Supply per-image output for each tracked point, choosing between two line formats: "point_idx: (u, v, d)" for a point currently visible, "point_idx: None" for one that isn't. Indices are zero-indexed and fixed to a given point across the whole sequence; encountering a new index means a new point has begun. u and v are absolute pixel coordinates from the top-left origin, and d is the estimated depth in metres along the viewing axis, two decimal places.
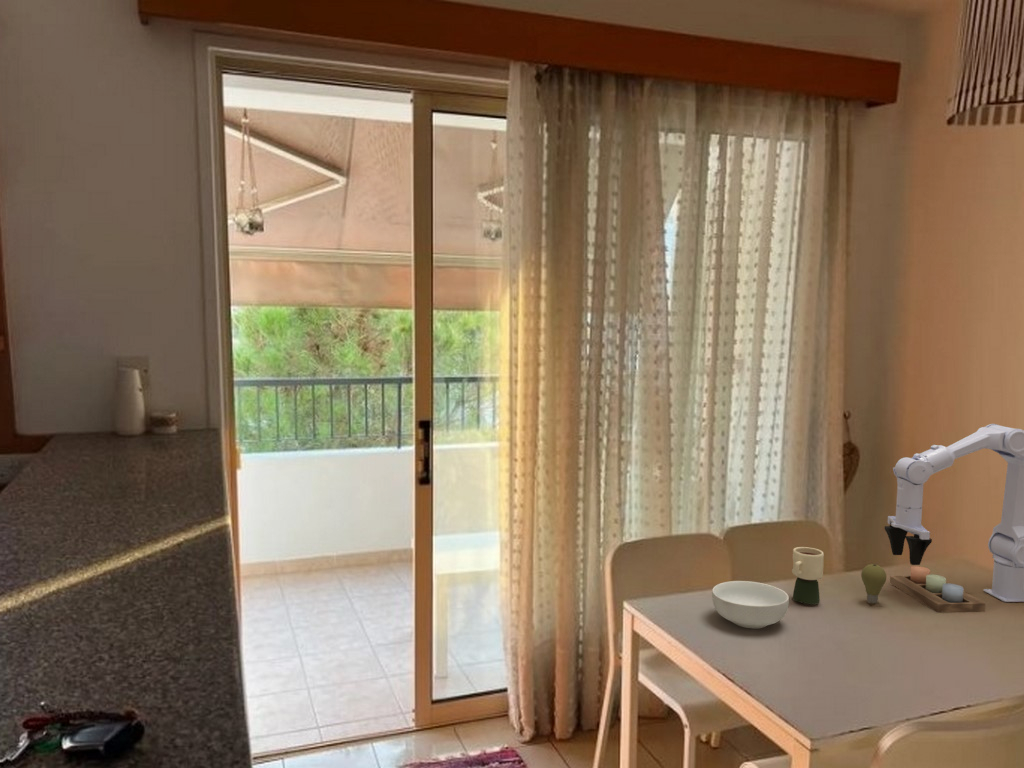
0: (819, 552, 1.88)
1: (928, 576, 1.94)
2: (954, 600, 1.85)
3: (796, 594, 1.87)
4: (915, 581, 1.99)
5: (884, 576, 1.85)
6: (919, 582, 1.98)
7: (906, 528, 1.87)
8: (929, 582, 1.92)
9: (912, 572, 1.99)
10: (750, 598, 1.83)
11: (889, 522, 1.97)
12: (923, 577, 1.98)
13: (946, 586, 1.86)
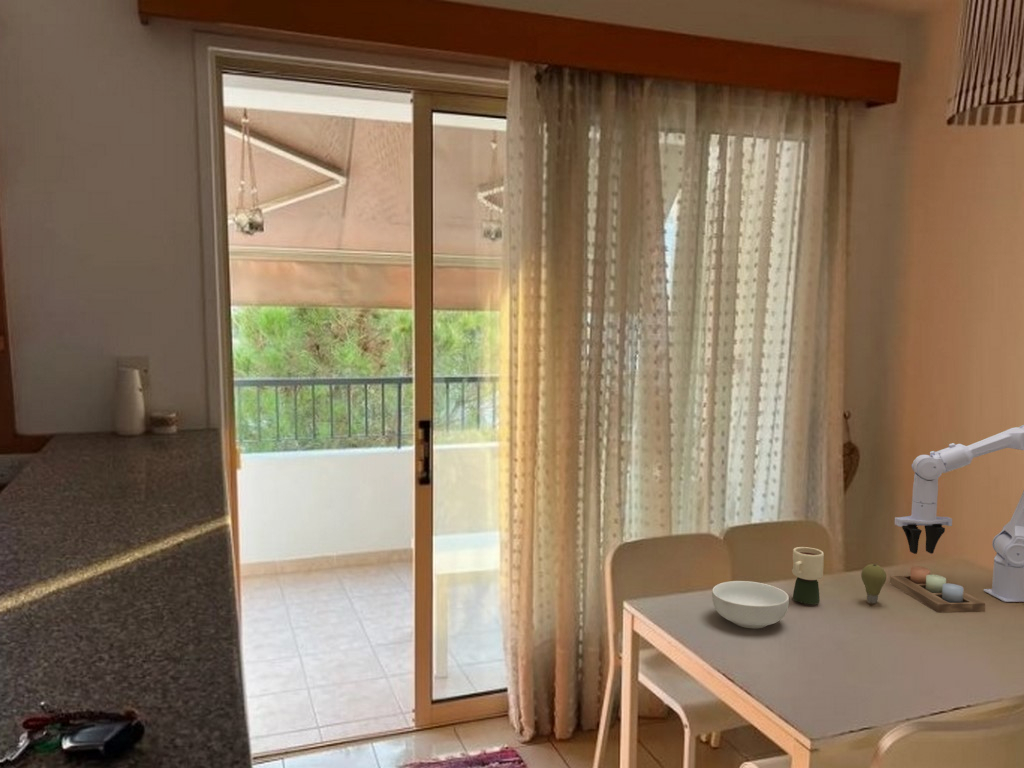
0: (819, 552, 1.88)
1: (928, 576, 1.94)
2: (954, 600, 1.85)
3: (796, 594, 1.87)
4: (915, 581, 1.99)
5: (884, 576, 1.85)
6: (919, 582, 1.98)
7: None
8: (929, 582, 1.92)
9: (912, 572, 1.99)
10: (750, 598, 1.83)
11: None
12: (923, 577, 1.98)
13: (946, 586, 1.86)
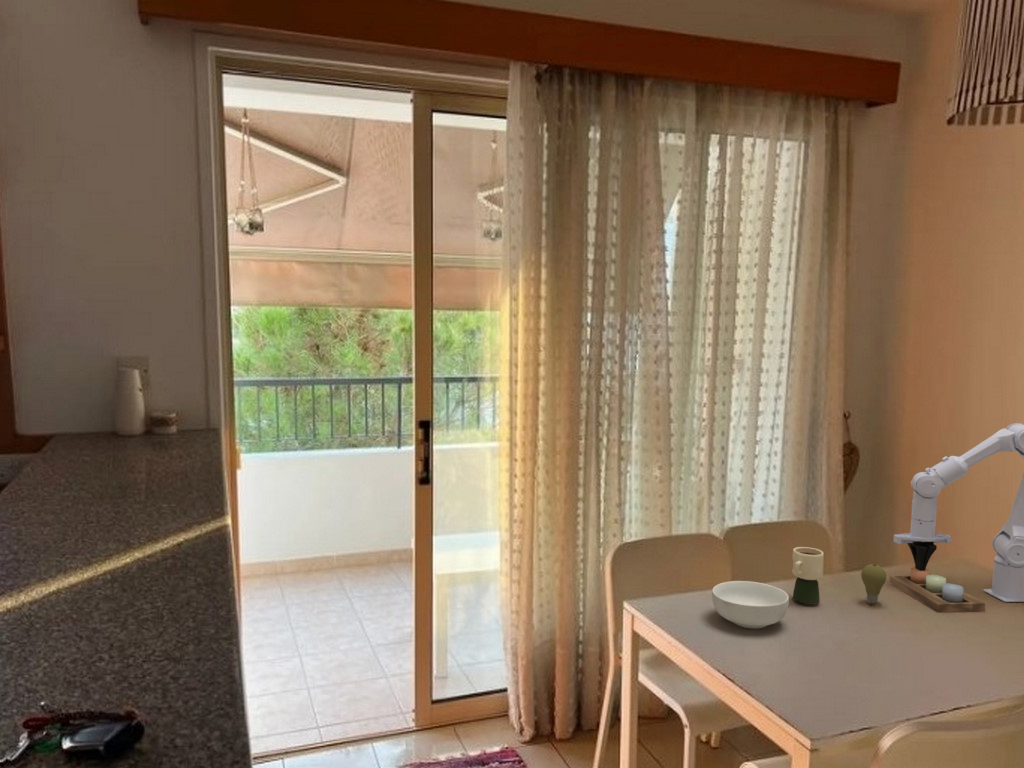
0: (819, 552, 1.88)
1: (928, 576, 1.94)
2: (954, 600, 1.85)
3: (796, 594, 1.87)
4: (915, 582, 1.99)
5: (884, 576, 1.85)
6: (919, 583, 1.98)
7: None
8: (929, 582, 1.92)
9: (912, 573, 1.99)
10: (750, 598, 1.83)
11: None
12: (923, 577, 1.98)
13: (946, 586, 1.86)
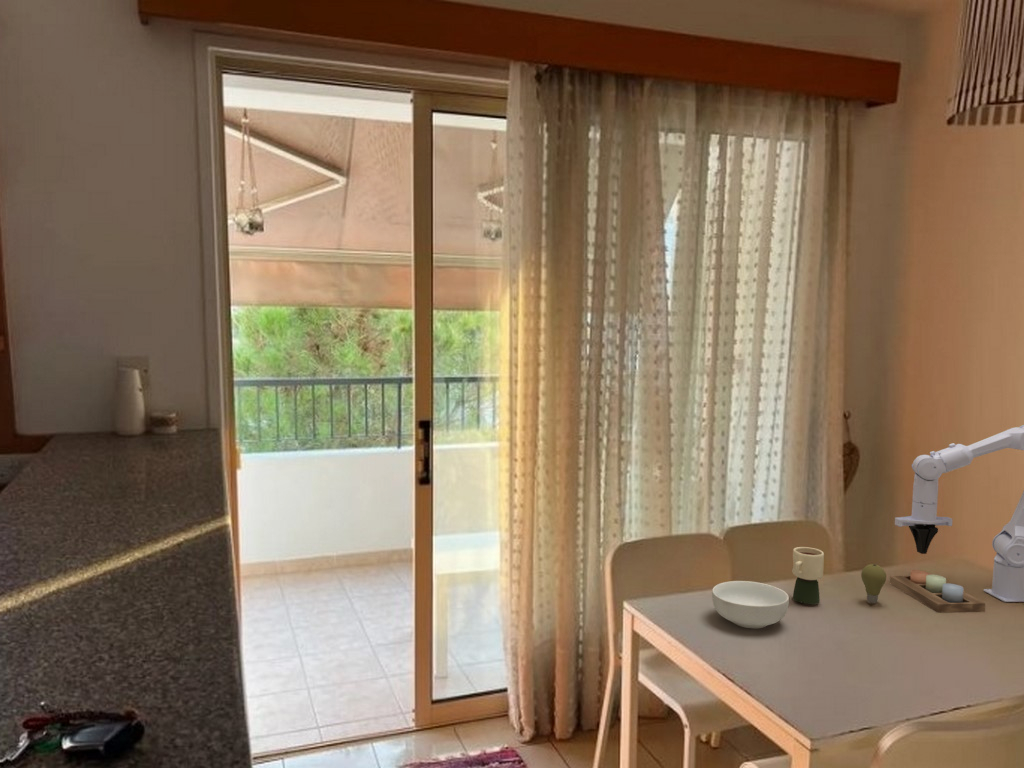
0: (819, 552, 1.88)
1: (928, 576, 1.94)
2: (954, 600, 1.85)
3: (796, 594, 1.87)
4: None
5: (884, 576, 1.85)
6: None
7: None
8: (929, 582, 1.92)
9: (912, 576, 1.99)
10: (750, 598, 1.83)
11: None
12: (923, 580, 1.98)
13: (946, 586, 1.86)
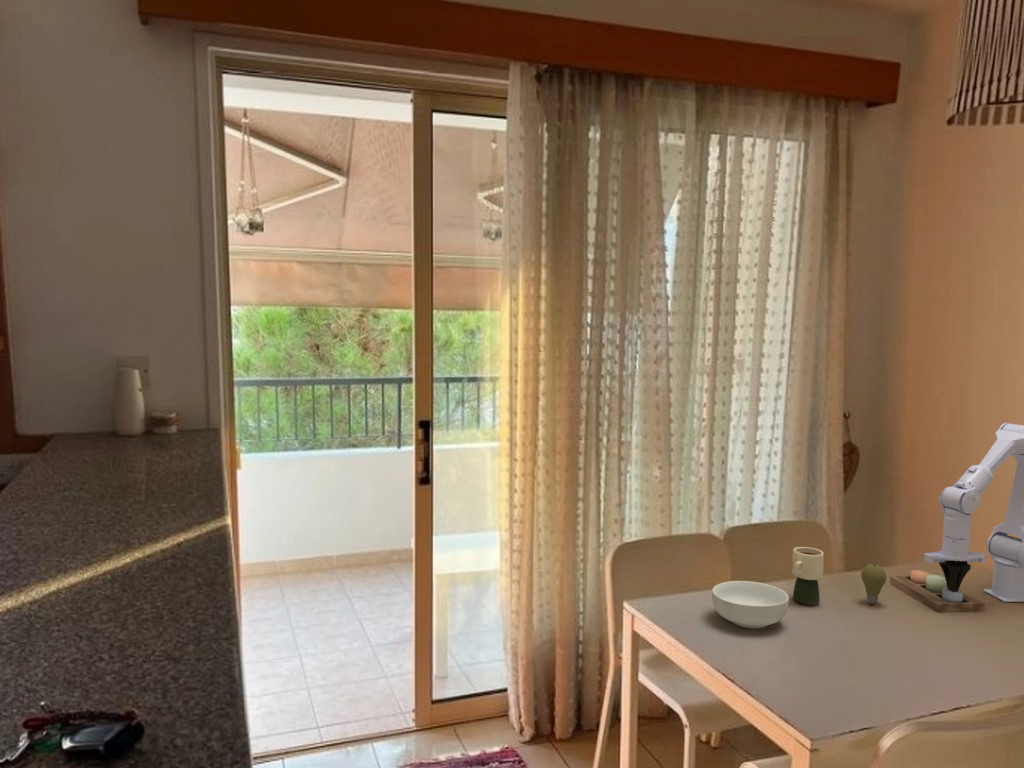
0: (819, 552, 1.88)
1: (928, 576, 1.94)
2: None
3: (796, 594, 1.87)
4: None
5: (884, 576, 1.85)
6: None
7: None
8: (929, 582, 1.92)
9: (912, 576, 1.99)
10: (750, 598, 1.83)
11: None
12: (923, 580, 1.98)
13: (946, 590, 1.87)
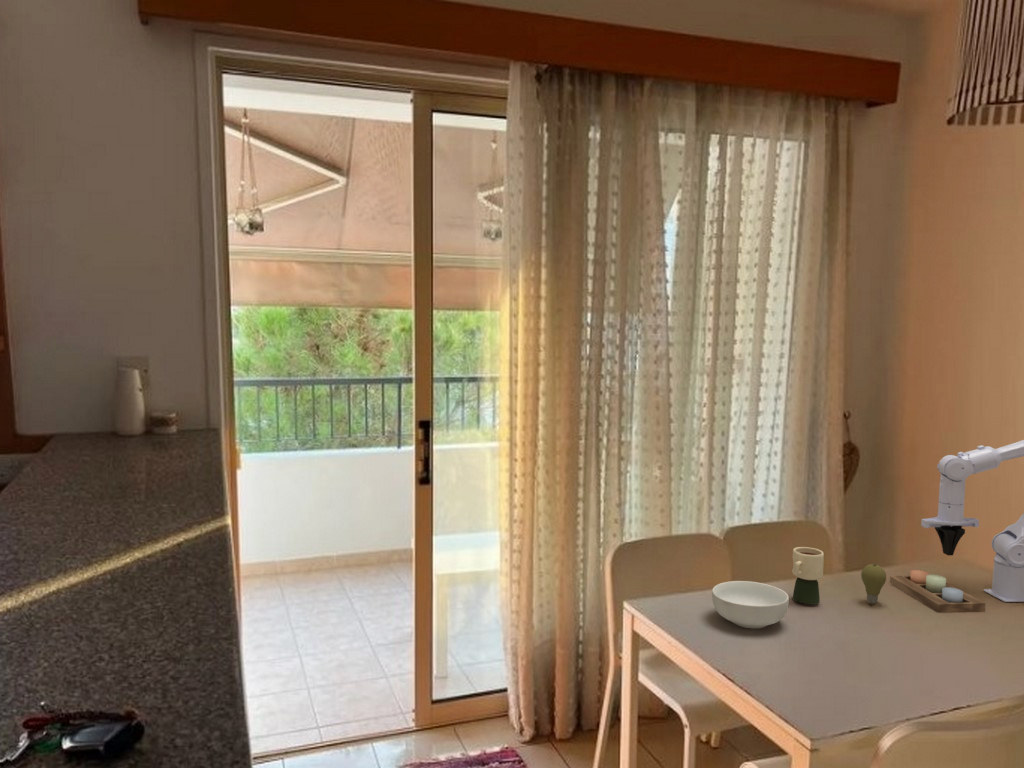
0: (819, 552, 1.88)
1: (928, 576, 1.94)
2: None
3: (796, 594, 1.87)
4: None
5: (884, 576, 1.85)
6: None
7: None
8: (929, 582, 1.92)
9: (912, 576, 1.99)
10: (750, 598, 1.83)
11: None
12: (923, 580, 1.98)
13: (946, 590, 1.87)
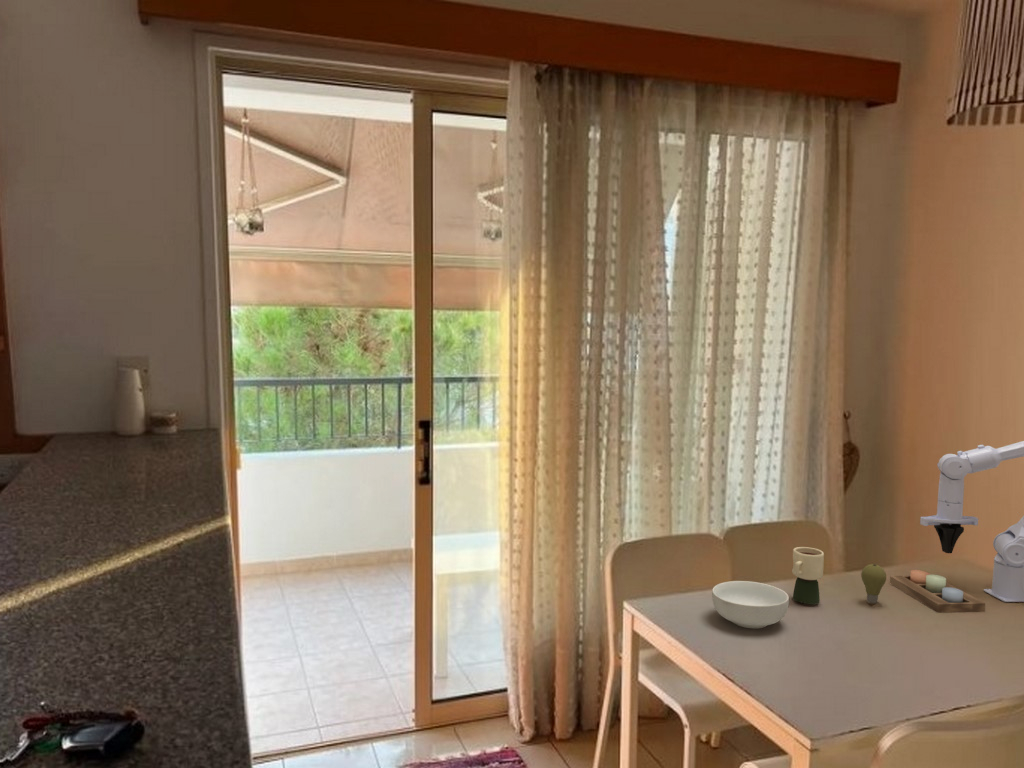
0: (819, 552, 1.88)
1: (928, 576, 1.94)
2: None
3: (796, 594, 1.87)
4: None
5: (884, 576, 1.85)
6: None
7: None
8: (929, 582, 1.92)
9: (912, 576, 1.99)
10: (750, 598, 1.83)
11: None
12: (923, 580, 1.98)
13: (946, 590, 1.87)
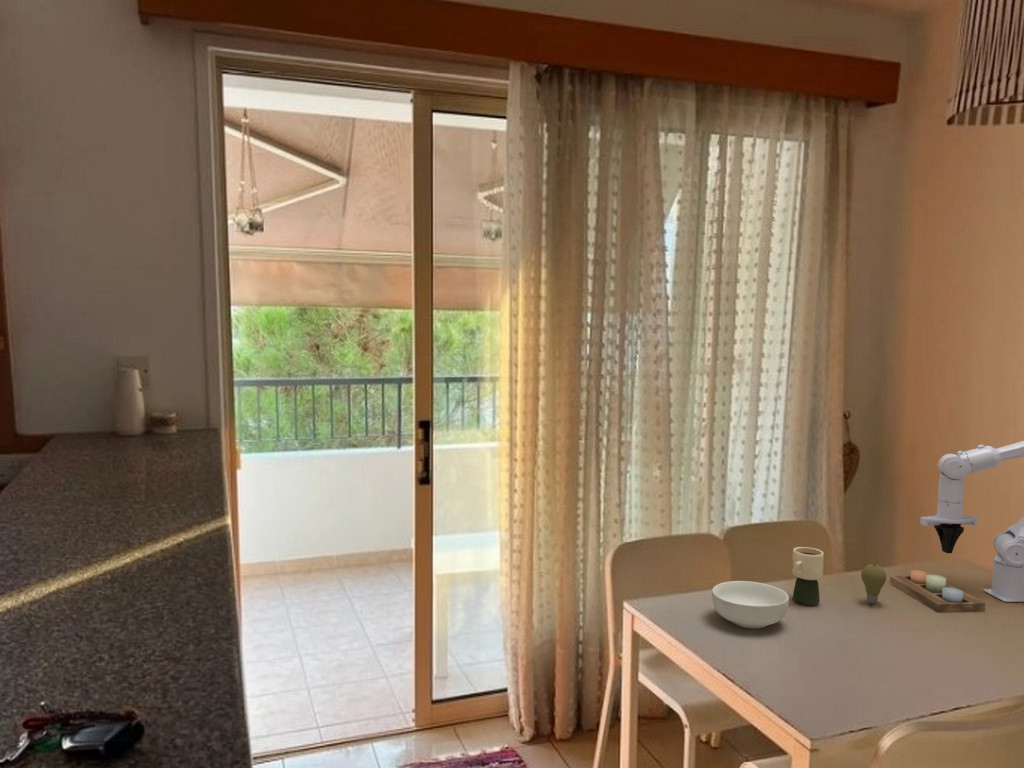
0: (819, 552, 1.88)
1: (928, 576, 1.94)
2: None
3: (796, 594, 1.87)
4: None
5: (884, 576, 1.85)
6: None
7: None
8: (929, 582, 1.92)
9: (912, 576, 1.99)
10: (750, 598, 1.83)
11: None
12: (923, 580, 1.98)
13: (946, 590, 1.87)
